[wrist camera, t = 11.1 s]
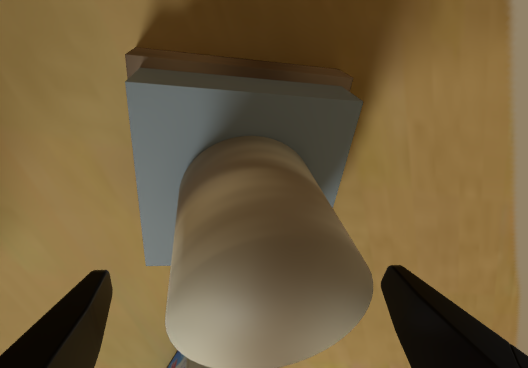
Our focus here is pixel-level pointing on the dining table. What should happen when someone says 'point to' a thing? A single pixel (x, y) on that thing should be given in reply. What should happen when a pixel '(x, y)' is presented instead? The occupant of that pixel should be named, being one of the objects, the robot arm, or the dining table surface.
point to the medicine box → (184, 362)
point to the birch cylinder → (259, 261)
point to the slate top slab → (226, 134)
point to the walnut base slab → (233, 67)
